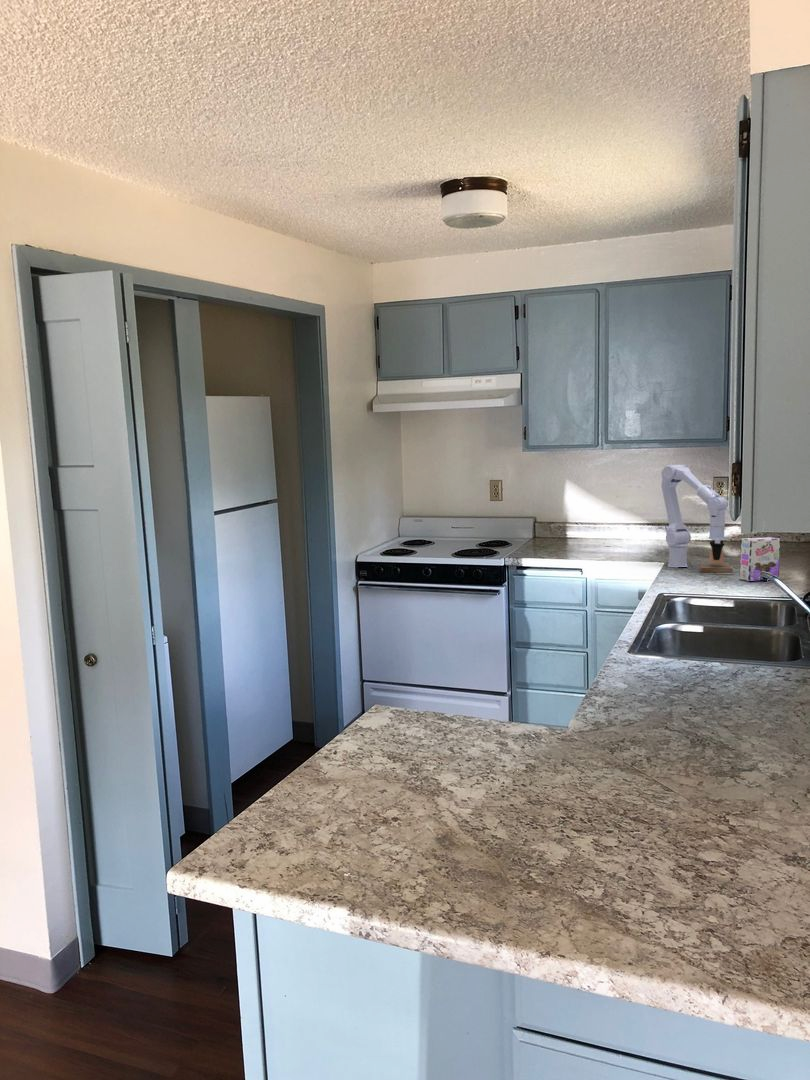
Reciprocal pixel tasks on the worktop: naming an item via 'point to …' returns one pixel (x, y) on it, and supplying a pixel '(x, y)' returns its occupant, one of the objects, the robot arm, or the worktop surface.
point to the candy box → (759, 557)
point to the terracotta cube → (716, 560)
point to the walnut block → (716, 568)
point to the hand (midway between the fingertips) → (716, 559)
